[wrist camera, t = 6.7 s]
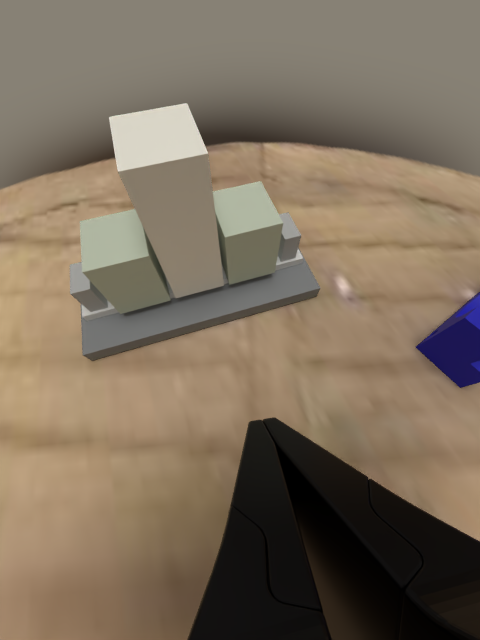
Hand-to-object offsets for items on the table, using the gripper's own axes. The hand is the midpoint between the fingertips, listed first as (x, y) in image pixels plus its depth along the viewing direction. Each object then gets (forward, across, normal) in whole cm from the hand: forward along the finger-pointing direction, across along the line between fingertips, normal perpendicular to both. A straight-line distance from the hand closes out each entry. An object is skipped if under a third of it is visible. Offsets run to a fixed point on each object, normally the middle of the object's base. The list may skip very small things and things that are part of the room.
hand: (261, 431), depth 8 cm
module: (+19, +2, -5) cm, 19 cm away
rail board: (+20, +1, -3) cm, 20 cm away
